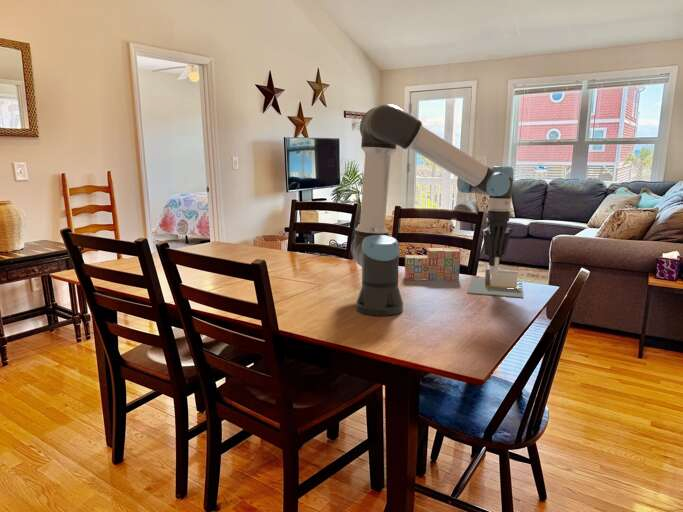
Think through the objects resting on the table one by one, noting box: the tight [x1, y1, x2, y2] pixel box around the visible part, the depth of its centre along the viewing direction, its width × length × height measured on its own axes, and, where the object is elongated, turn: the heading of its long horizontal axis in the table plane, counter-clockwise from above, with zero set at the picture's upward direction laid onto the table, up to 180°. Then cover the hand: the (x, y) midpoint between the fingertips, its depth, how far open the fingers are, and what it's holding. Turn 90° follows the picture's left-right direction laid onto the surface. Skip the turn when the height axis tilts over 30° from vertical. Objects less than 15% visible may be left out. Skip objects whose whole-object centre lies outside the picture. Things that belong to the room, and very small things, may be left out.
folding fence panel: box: [484, 268, 519, 287], centre depth 180 cm, size 11×2×6 cm, turn 74°
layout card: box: [466, 277, 524, 299], centre depth 180 cm, size 23×19×1 cm
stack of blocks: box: [404, 247, 461, 281], centre depth 194 cm, size 21×6×12 cm, turn 88°
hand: (493, 274), depth 175 cm, fingers closed
